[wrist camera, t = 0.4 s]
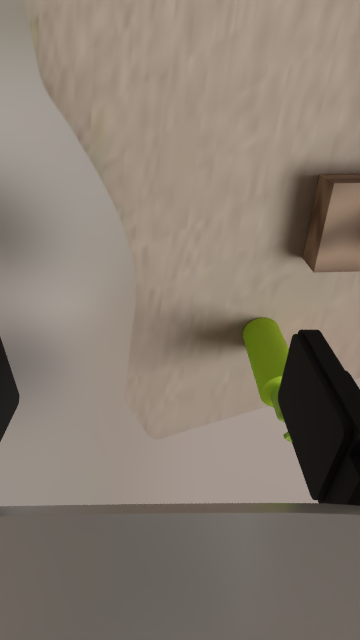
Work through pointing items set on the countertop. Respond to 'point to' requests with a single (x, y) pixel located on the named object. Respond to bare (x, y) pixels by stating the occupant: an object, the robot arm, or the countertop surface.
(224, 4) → the countertop surface
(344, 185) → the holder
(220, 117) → the countertop surface
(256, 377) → the soap dispenser
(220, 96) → the countertop surface
